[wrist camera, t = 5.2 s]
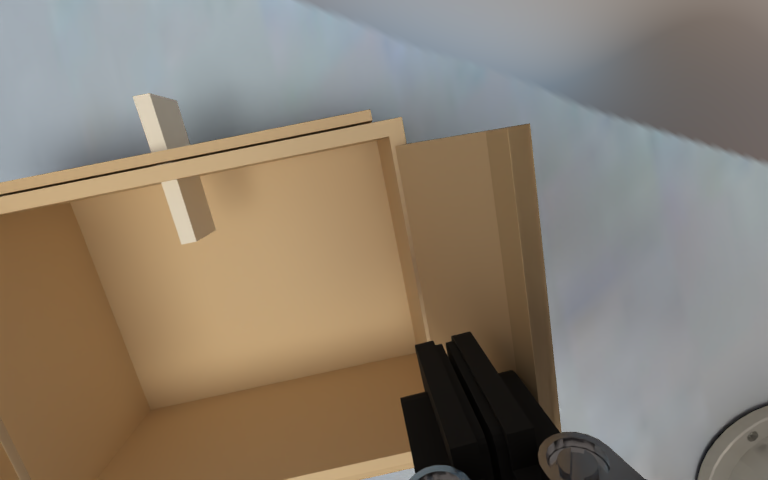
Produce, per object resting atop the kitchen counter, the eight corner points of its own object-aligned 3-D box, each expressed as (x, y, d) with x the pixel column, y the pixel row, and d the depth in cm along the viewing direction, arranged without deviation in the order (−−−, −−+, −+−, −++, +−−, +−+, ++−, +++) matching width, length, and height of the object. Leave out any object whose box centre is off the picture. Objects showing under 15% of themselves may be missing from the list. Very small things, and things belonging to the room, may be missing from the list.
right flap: (394, 146, 14) (407, 143, 15) (449, 444, 18) (460, 440, 18) (506, 128, 8) (529, 123, 8) (562, 610, 11) (578, 601, 11)
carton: (375, 80, 23) (387, 38, 14) (427, 360, 27) (462, 460, 18) (44, 145, 22) (-155, 143, 14) (151, 420, 27) (52, 552, 18)
